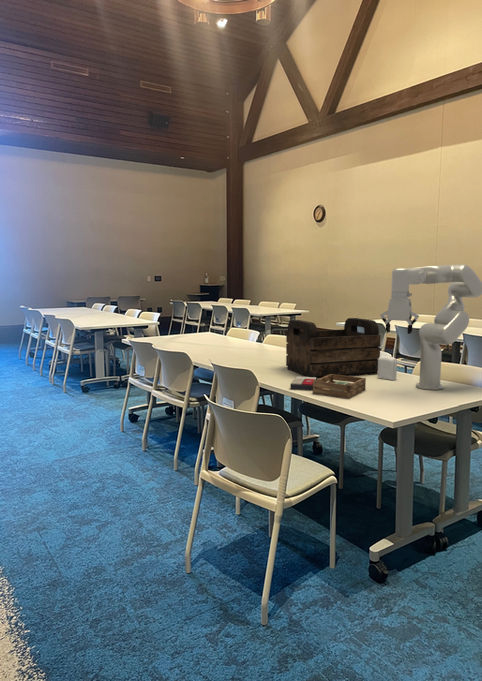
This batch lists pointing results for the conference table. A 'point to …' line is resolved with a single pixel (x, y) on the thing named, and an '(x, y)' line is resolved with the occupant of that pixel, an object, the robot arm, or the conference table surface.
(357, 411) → the conference table surface
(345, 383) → the box
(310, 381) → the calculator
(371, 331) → the wooden crate
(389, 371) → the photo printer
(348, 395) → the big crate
